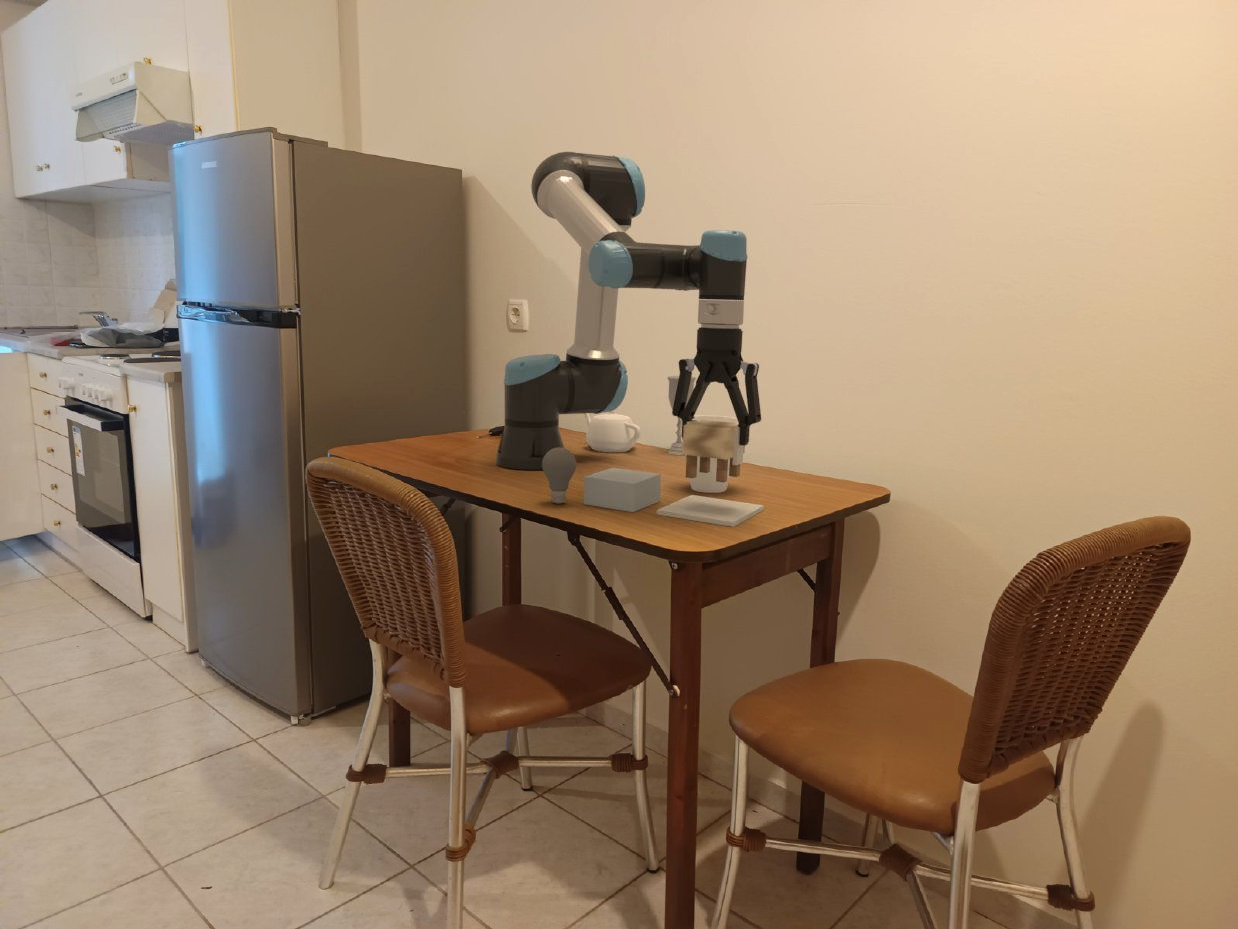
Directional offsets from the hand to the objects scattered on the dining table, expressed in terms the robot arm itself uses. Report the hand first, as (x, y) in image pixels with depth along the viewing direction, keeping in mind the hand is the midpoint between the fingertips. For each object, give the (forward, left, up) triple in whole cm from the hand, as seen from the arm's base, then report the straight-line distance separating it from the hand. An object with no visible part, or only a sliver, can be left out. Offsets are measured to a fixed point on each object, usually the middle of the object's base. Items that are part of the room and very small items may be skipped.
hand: (713, 460), depth 149 cm
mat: (0, 0, -9) cm, 9 cm away
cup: (-8, +17, -9) cm, 21 cm away
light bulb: (-25, -10, -9) cm, 28 cm away
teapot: (-46, +44, -9) cm, 64 cm away
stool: (0, 0, -3) cm, 3 cm away
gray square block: (-16, -3, -9) cm, 19 cm away
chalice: (-30, +49, -9) cm, 58 cm away
